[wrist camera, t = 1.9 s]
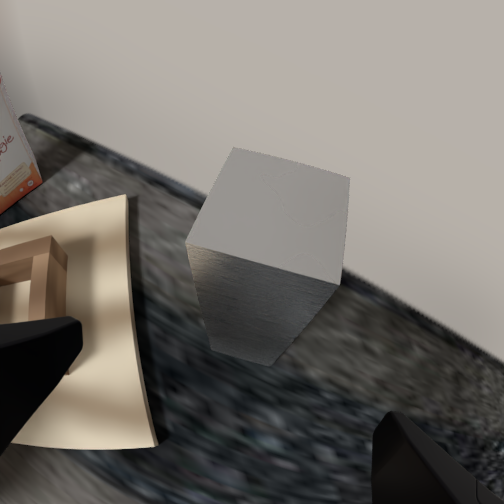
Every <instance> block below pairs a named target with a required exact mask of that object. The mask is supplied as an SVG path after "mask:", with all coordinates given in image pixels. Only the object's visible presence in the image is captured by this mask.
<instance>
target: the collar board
mask: <svg viewBox="0 0 504 504" xmlns="http://www.w3.org/2000/svg"><path fill="white" fill-rule="evenodd" d="M64 316H72V317H74V318H76V319H78V320H80V321H81V323H82V329H83V348H82V350H81V352H80V353H79V355H78V356H77V358H76V359H75V361H74V362H73V363H72V365H71V366H70V368H69V369H68V371H67V372H66V374H65V375H64V377H63V378H62V380H61V381H60V382H59V384H58V385H57V386H56V388H55V389H54V390H53V391H52V392H51V394H50V395H49V396H48V397H47V398H46V400H45V401H44V402H43V403H42V404H41V406H40V407H39V408H38V409H37V410H36V412H35V413H34V414H33V415H32V416H31V418H30V419H29V420H28V421H27V423H26V424H25V425H24V426H23V428H22V429H21V430H20V431H19V433H18V434H17V435H16V437H15V438H14V439H13V440H12V442H11V443H17V444H24V445H31V446H40V447H51V448H64V449H130V448H145V447H155V446H157V445H158V442H157V438H156V434H155V430H154V426H153V422H152V417H151V413H150V409H149V404H148V399H147V394H146V389H145V384H144V379H143V373H142V367H141V361H140V355H139V348H138V342H137V334H136V326H135V318H134V309H133V299H132V287H131V273H130V256H129V224H128V199H127V196H126V194H125V195H120V196H116V197H112V198H107V199H103V200H99V201H95V202H91V203H87V204H83V205H79V206H75V207H72V208H68V209H64V210H60V211H57V212H53V213H50V214H46V215H43V216H40V217H36V218H33V219H30V220H27V221H23V222H20V223H17V224H14V225H11V226H8V227H5V228H2V229H0V324H8V323H17V322H25V321H33V320H41V319H49V318H56V317H64Z"/></svg>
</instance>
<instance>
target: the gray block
mask: <svg viewBox="0 0 504 504" xmlns="http://www.w3.org/2000/svg"><path fill="white" fill-rule="evenodd" d="M349 184H350V178H349V177H346V176H343V175H339V174H336V173H333V172H330V171H326V170H323V169H319V168H316V167H312V166H309V165H305V164H301V163H298V162H294V161H290V160H286V159H282V158H278V157H275V156H270V155H266V154H262V153H258V152H253V151H249V150H245V149H240V148H235V147H233V149H232V151H231V153H230V154H229V156H228V158H227V160H226V162H225V164H224V166H223V168H222V169H221V171H220V173H219V175H218V177H217V179H216V181H215V183H214V185H213V187H212V189H211V191H210V193H209V195H208V197H207V198H206V200H205V202H204V204H203V206H202V209H201V211H200V213H199V215H198V217H197V219H196V221H195V223H194V225H193V227H192V229H191V231H190V233H189V235H188V237H187V240H186V242H185V243H186V248H187V252H188V257H189V261H190V266H191V270H192V275H193V279H194V283H195V287H196V292H197V296H198V300H199V304H200V308H201V312H202V316H203V320H204V323H205V327H206V331H207V335H208V339H209V342H210V346H211V349H212V350H214V351H217V352H220V353H223V354H227V355H230V356H233V357H237V358H240V359H244V360H247V361H251V362H254V363H258V364H262V365H266V366H271V365H272V364H273V363H274V362H275V361H276V360H277V358H278V357H279V356H280V355H281V354H282V353H283V352H284V351H285V350H286V349H287V347H288V346H289V345H290V344H291V343H292V342H293V341H294V340H295V338H296V337H297V336H298V335H299V334H300V333H301V332H302V330H303V329H304V328H305V327H306V326H307V325H308V323H309V322H310V321H311V320H312V319H313V317H314V316H315V315H316V314H317V313H318V311H319V310H320V309H321V308H322V307H323V305H324V304H325V303H326V302H327V300H328V299H329V298H330V297H331V296H332V294H333V293H334V292H335V291H336V289H337V288H338V287H339V285H340V280H341V273H342V264H343V255H344V246H345V237H346V226H347V214H348V200H349Z"/></svg>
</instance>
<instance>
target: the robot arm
mask: <svg viewBox="0 0 504 504" xmlns="http://www.w3.org/2000/svg"><path fill="white" fill-rule="evenodd" d="M82 348H83V329H82V323H81V321H80V320H78V319H76V318H74V317H72V316H64V317H56V318H49V319H41V320H33V321H25V322H17V323H8V324H0V456H1V455H2V454H3V452H4V451H5V450H6V448H7V447H8V446H9V444H10V443H11V442H12V440H13V439H14V438H15V437H16V435H17V434H18V433H19V431H20V430H21V429H22V428H23V426H24V425H25V424H26V423H27V421H28V420H29V419H30V418H31V416H32V415H33V414H34V413H35V412H36V410H37V409H38V408H39V407H40V406H41V404H42V403H43V402H44V401H45V400H46V398H47V397H48V396H49V395H50V394H51V392H52V391H53V390H54V389H55V388H56V386H57V385H58V384H59V382H60V381H61V380H62V378H63V377H64V375H65V374H66V372H67V371H68V369H69V368H70V366H71V365H72V363H73V362H74V361H75V359H76V358H77V356H78V355H79V353H80V352H81V350H82ZM371 483H372V504H504V501H503V500H502V499H500V498H499V497H497V496H496V495H495V494H494V493H492V492H491V491H490V490H489V489H487V488H486V487H485V486H484V485H483V484H482V483H480V482H479V481H478V480H476V478H475V477H474V476H472V475H471V474H470V473H469V472H468V471H467V470H466V469H464V468H463V467H462V466H461V465H460V464H459V463H458V462H456V461H455V460H454V459H453V458H452V457H451V456H450V455H449V454H447V453H446V452H445V451H444V450H443V449H442V448H441V447H440V446H439V445H437V444H436V443H435V442H434V441H433V440H432V439H431V438H430V437H429V436H427V435H426V434H425V433H424V432H423V431H422V430H421V429H420V428H419V427H417V426H416V425H415V424H414V423H413V422H412V421H411V420H410V419H409V418H408V417H406V416H405V415H404V414H403V413H402V412H396V411H390V412H388V413H387V414H386V415H385V416H384V418H383V419H382V421H381V422H380V423H379V425H378V426H377V428H376V429H375V431H374V433H373V443H372V472H371Z"/></svg>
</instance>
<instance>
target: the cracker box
mask: <svg viewBox="0 0 504 504" xmlns="http://www.w3.org/2000/svg"><path fill="white" fill-rule="evenodd" d="M42 182H43V181H42V178H41V175H40V172H39V169H38V166H37V162H36V159H35V157H34V155H33V152H32V150H31V148H30V146H29V144H28V142H27V140H26V137H25V135H24V133H23V131H22V128H21V126H20V124H19V121H18V119H17V116H16V114H15V112H14V109H13V106H12V104H11V102H10V99H9V96H8V94H7V91H6V88H5V85H4V82H3V79H2V76H1V73H0V214H1V213H3V212H4V211H5V210H6V209H8V208H9V207H10V206H11V205H13V204H14V203H15V202H17V201H18V200H19V199H21V198H22V197H23V196H25V195H26V194H27V193H29V192H30V191H32V190H33V189H34V188H36V187H37V186H39V185H40V184H41V183H42Z"/></svg>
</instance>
